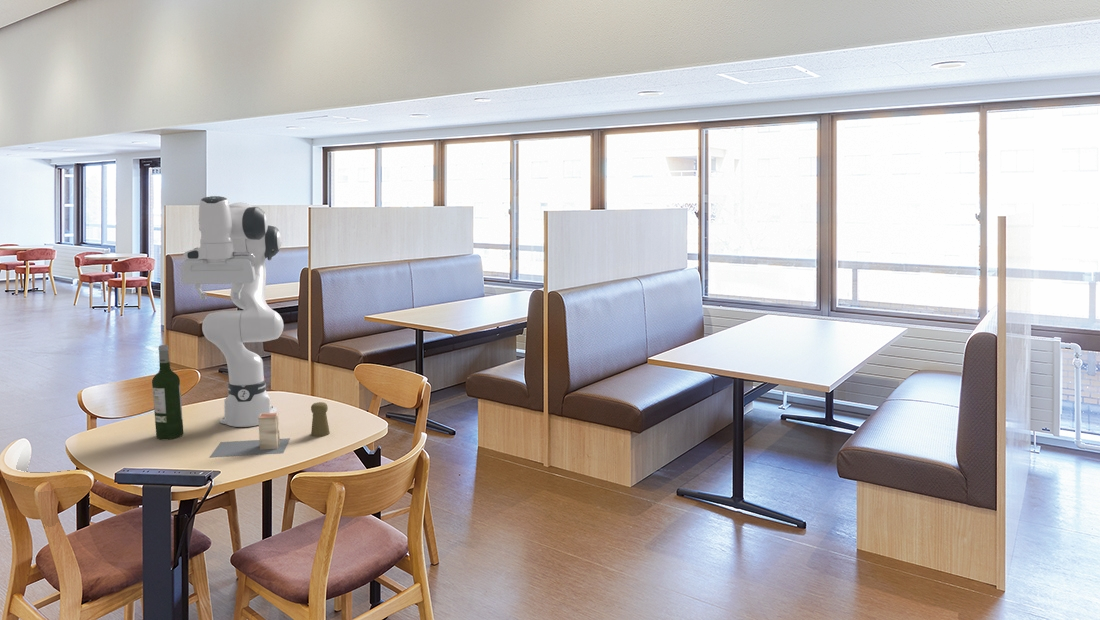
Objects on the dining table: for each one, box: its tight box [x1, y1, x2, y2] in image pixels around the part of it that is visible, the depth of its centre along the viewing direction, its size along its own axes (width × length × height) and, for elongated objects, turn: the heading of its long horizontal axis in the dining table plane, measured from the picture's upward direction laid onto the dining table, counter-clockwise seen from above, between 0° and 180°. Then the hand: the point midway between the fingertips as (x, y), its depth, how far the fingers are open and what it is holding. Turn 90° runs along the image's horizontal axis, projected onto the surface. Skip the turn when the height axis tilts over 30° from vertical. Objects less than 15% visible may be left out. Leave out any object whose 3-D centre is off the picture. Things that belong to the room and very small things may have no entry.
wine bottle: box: [151, 344, 184, 440], centre depth 239 cm, size 8×8×30 cm
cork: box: [310, 401, 331, 438], centre depth 242 cm, size 6×6×11 cm
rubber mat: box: [209, 437, 291, 458], centre depth 229 cm, size 14×21×1 cm, turn 101°
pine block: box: [258, 412, 281, 450], centre depth 229 cm, size 5×5×10 cm
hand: (220, 298), depth 220 cm, fingers open, 8 cm apart
